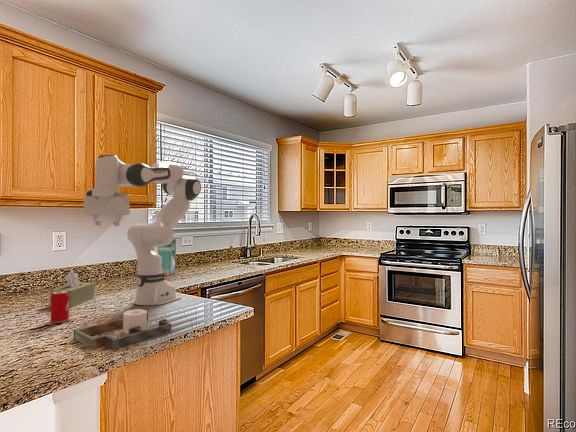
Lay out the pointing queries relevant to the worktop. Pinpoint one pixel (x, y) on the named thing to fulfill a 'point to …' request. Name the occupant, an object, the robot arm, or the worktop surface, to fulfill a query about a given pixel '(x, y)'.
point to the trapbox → (134, 336)
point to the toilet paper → (134, 319)
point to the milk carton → (168, 257)
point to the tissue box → (76, 290)
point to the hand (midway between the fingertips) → (107, 225)
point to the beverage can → (59, 306)
